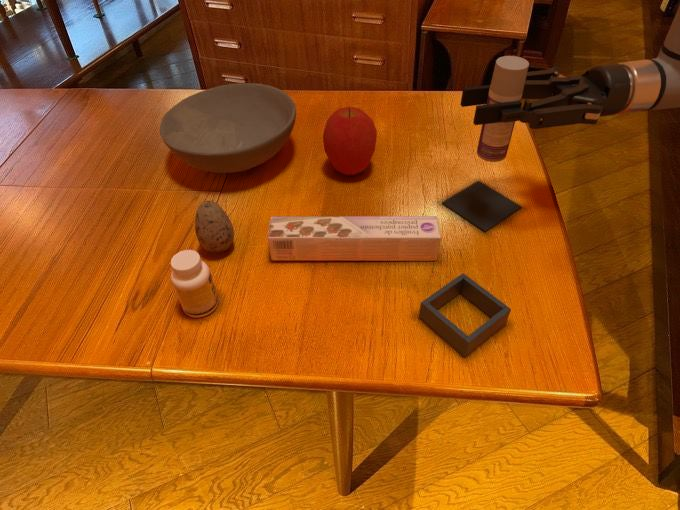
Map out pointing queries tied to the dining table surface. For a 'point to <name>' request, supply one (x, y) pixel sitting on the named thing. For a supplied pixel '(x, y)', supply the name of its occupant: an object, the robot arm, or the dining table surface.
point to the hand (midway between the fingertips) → (469, 106)
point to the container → (502, 89)
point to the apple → (349, 140)
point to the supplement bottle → (193, 284)
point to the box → (354, 238)
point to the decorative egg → (213, 227)
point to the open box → (475, 296)
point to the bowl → (229, 126)
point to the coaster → (481, 206)
